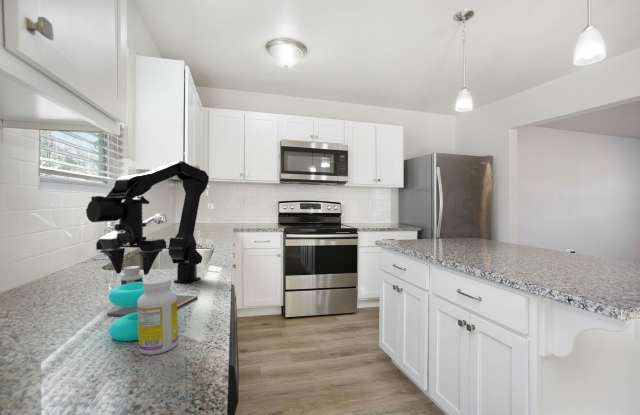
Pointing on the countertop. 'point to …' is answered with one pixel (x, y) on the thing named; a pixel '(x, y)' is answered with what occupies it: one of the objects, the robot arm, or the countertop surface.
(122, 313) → the mat
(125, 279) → the pill bottle
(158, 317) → the supplement bottle
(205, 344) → the countertop surface
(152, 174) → the robot arm
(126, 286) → the donuts
